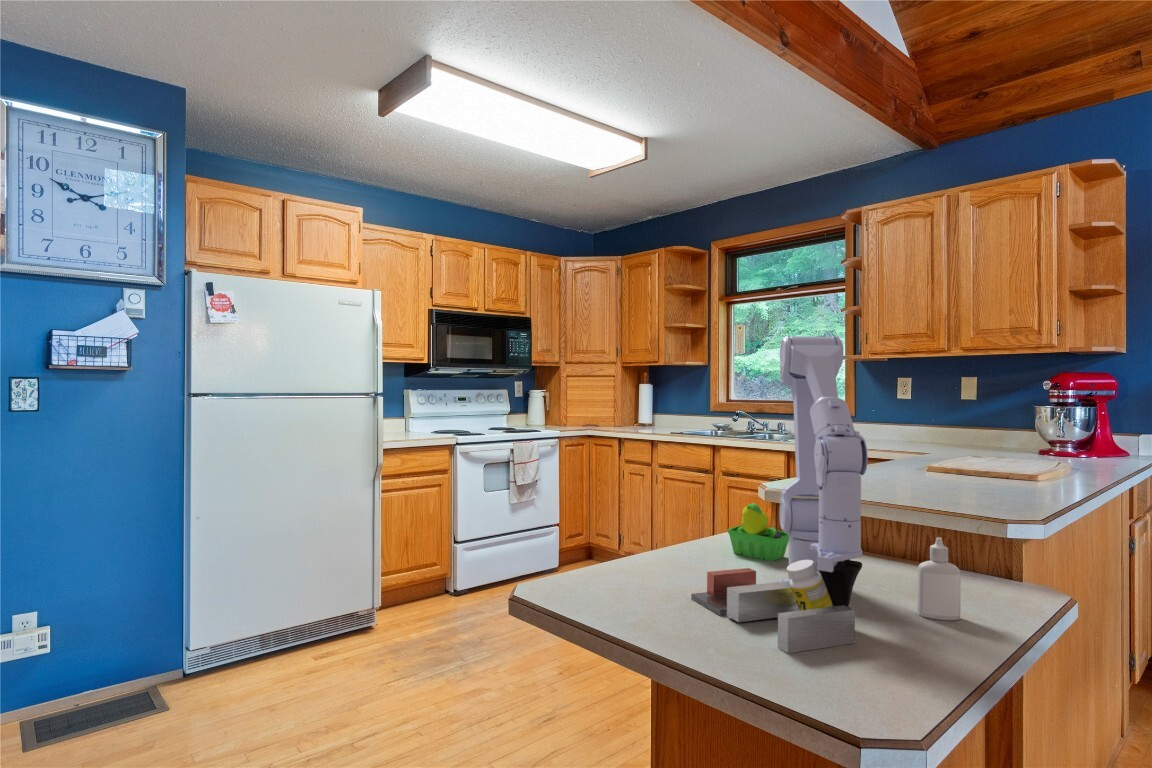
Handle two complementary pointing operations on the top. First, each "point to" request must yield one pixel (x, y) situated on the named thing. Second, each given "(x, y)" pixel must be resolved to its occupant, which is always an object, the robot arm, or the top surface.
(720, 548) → the top surface
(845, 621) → the bar
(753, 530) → the fruit basket
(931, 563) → the eye dropper bottle
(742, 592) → the sliding jaw
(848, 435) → the robot arm
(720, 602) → the base
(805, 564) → the supplement bottle
